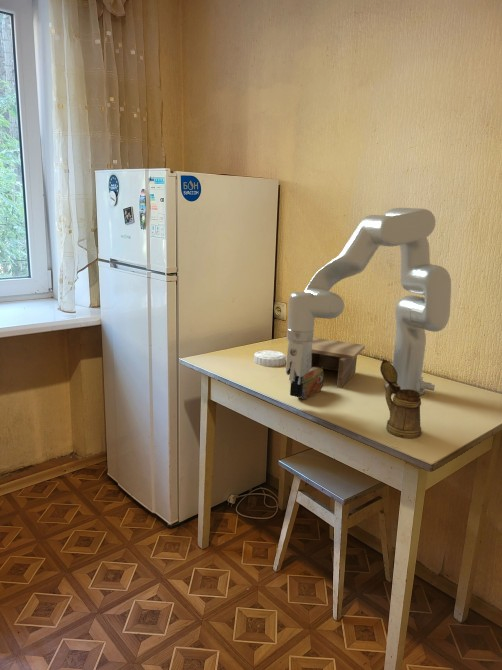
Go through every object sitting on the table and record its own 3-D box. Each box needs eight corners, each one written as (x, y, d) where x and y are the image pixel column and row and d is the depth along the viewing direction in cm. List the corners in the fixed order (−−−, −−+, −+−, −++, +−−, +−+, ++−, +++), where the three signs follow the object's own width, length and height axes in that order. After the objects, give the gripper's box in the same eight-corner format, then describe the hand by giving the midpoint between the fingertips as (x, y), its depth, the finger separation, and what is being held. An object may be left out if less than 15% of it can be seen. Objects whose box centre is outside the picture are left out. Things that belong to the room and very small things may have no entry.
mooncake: (289, 361, 199) (290, 352, 198) (278, 369, 188) (279, 359, 187) (261, 356, 203) (261, 347, 202) (248, 364, 192) (249, 354, 192)
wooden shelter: (362, 373, 186) (365, 345, 183) (348, 389, 169) (351, 358, 166) (309, 364, 194) (311, 337, 191) (291, 378, 177) (293, 348, 174)
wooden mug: (385, 416, 147) (392, 356, 143) (427, 433, 137) (436, 369, 133) (366, 423, 142) (372, 361, 138) (408, 441, 132) (417, 375, 128)
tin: (299, 402, 155) (301, 376, 153) (291, 399, 157) (292, 373, 155) (324, 390, 167) (326, 365, 165) (315, 387, 169) (317, 363, 167)
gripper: (303, 342, 138) (299, 406, 143) (320, 332, 151) (316, 390, 156) (278, 338, 141) (274, 401, 146) (296, 328, 154) (292, 386, 159)
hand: (296, 395), depth 151 cm, fingers closed
